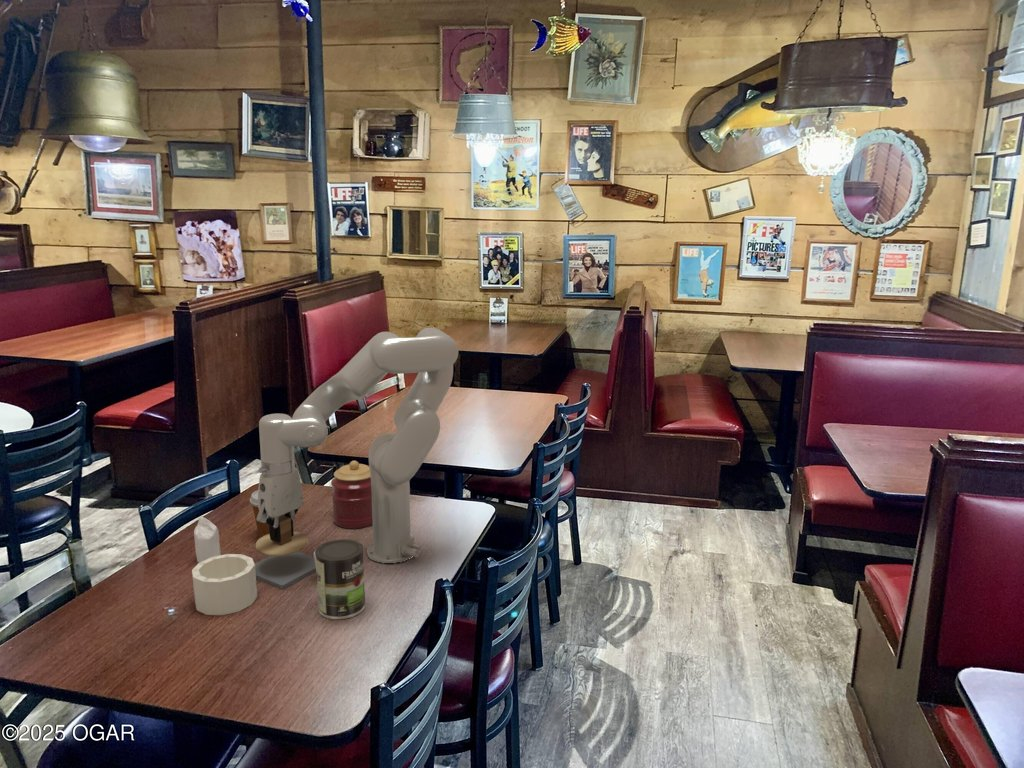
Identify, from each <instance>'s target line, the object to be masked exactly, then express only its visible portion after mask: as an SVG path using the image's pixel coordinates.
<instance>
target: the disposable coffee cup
mask: <svg viewBox="0 0 1024 768" xmlns="http://www.w3.org/2000/svg"><path fill="white" fill-rule="evenodd" d="M249 503H250V504H251V506H252V511H253V515H254V518H255V519H254V520H255V525H256V527H257V528H256V530H257V533H258V537H259V538H258V539H260V538H261V537H263V536H265V535H268V534H270V532H269V526H268V525H267V524H266V523H263V522H259V521H257V520H256V519H257V516H258V513H259V507H258V489H257V490H255V491H253V492H252V493H251V497H250V498H249ZM283 516H284V515H283ZM265 517H267V513H266V516H265ZM272 519H273V518H272Z"/></svg>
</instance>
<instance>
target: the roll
mask: <svg viewBox="0 0 1024 768" xmlns="http://www.w3.org/2000/svg"><path fill="white" fill-rule="evenodd" d="M193 536H194V537H193V538H194V550H195V556H196V562H197V564H198V563H200V562H202V561H204V560H207V559H209V558H211V557H215V556H220V555H222V554H221V544H220V533H219V529H218V527H217V526H216V525H215V524H214V523H212V521H211V520H209V519H207V518H206V517H203V515H201V516H199V517H198V521H197V524H196V526H195V528H194V530H193Z"/></svg>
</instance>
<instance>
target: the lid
mask: <svg viewBox="0 0 1024 768" xmlns="http://www.w3.org/2000/svg"><path fill="white" fill-rule="evenodd" d="M272 520H273V519H272ZM278 526H279V527H280V533H281V542H279V543H278V542H275V541H272V540H271V539H270V534H268V535H265V536H263V537H261V538H258V540H257V541H256V543H255V550H256V551H257V552H258V553H260V554H261V555H264V556H268V557H270V556H284V555H289V554H293V553H296V552H301V551H302V550H304V549H305V548H306V547H307V546H308V544H309V541H308V539H309V538H308V537H307V535H306V534H305V533H302V532H299V531H294V530H293V532H294V536H291V518H289V517H286V516H283V515H281V516H279V519H278Z"/></svg>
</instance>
